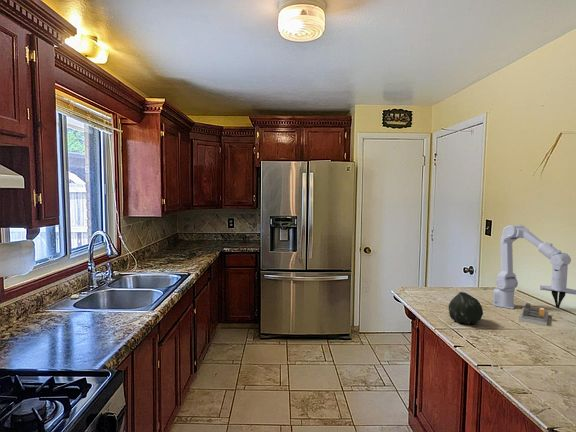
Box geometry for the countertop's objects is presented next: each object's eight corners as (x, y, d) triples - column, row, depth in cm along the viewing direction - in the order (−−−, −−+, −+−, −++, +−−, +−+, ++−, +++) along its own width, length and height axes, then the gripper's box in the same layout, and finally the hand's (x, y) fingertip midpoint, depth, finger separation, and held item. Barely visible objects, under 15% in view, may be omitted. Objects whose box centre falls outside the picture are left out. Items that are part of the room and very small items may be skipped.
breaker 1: (525, 310, 187) (525, 304, 187) (525, 309, 189) (526, 302, 189) (529, 311, 186) (530, 304, 186) (530, 310, 188) (530, 303, 188)
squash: (489, 309, 176) (467, 283, 180) (489, 320, 163) (465, 292, 167) (463, 324, 182) (442, 299, 186) (461, 335, 169) (439, 308, 173)
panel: (518, 320, 177) (518, 316, 177) (522, 310, 193) (522, 306, 192) (546, 325, 171) (546, 321, 171) (548, 315, 186) (548, 310, 186)
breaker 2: (523, 316, 179) (523, 309, 178) (523, 314, 180) (524, 308, 180) (528, 317, 177) (528, 310, 177) (528, 315, 179) (528, 309, 179)
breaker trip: (538, 315, 179) (539, 308, 179) (539, 314, 181) (539, 307, 181) (544, 316, 178) (544, 309, 178) (544, 315, 180) (544, 308, 180)
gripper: (540, 278, 176) (538, 306, 177) (579, 282, 167) (577, 312, 168) (541, 275, 182) (539, 302, 182) (578, 280, 173) (576, 308, 174)
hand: (557, 307), depth 176 cm, fingers closed
